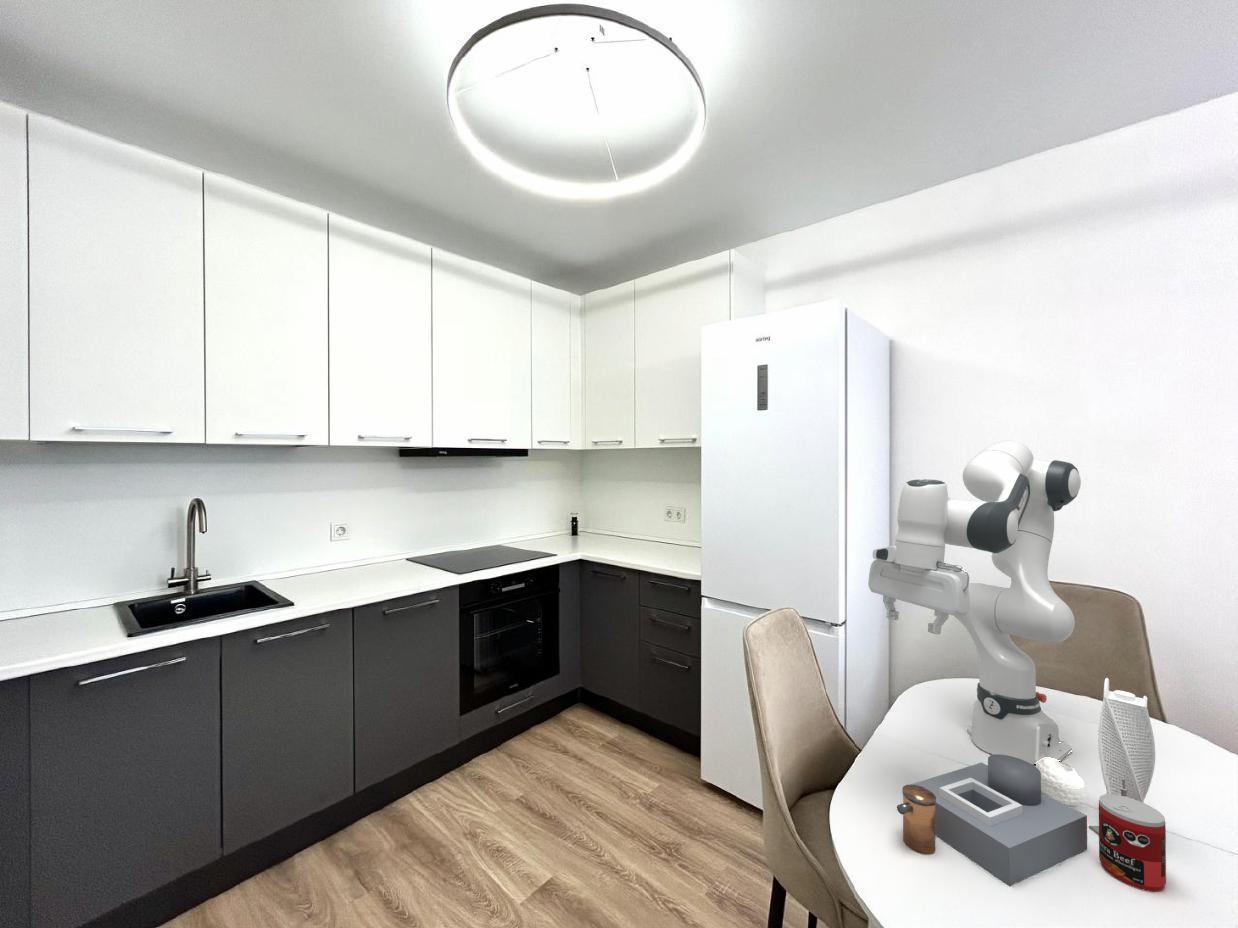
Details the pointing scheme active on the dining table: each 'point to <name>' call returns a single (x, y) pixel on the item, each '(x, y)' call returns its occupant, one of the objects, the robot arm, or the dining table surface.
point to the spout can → (918, 819)
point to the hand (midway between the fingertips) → (912, 625)
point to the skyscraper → (1125, 745)
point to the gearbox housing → (1005, 818)
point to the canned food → (1132, 842)
